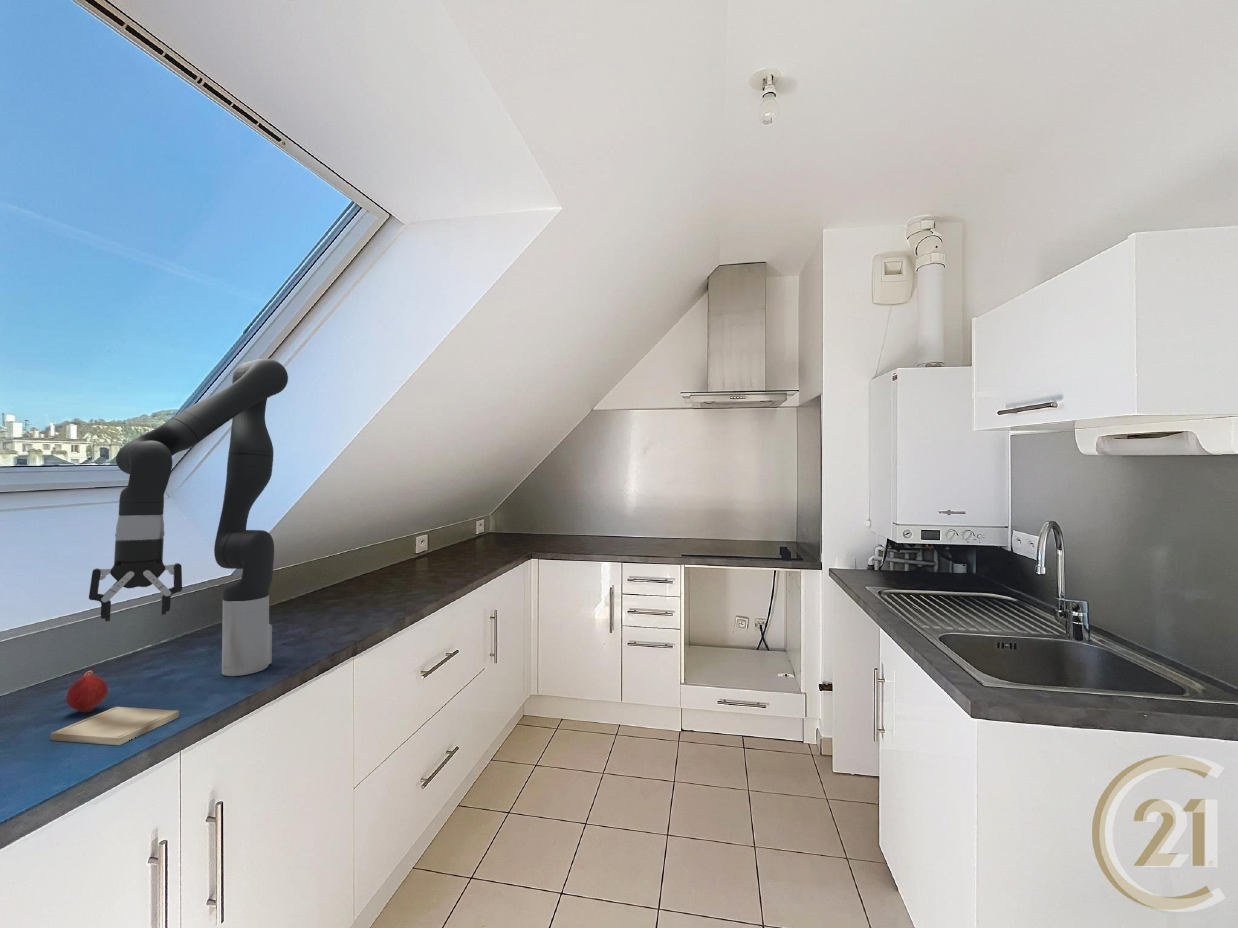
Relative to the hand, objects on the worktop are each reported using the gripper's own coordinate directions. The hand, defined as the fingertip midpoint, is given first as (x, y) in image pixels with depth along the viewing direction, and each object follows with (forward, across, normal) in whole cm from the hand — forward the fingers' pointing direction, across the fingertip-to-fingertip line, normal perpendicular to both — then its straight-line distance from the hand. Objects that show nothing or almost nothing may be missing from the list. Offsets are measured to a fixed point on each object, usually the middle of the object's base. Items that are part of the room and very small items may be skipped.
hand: (135, 617), depth 111 cm
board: (+18, +2, +11) cm, 21 cm away
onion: (+18, +6, -2) cm, 19 cm away
